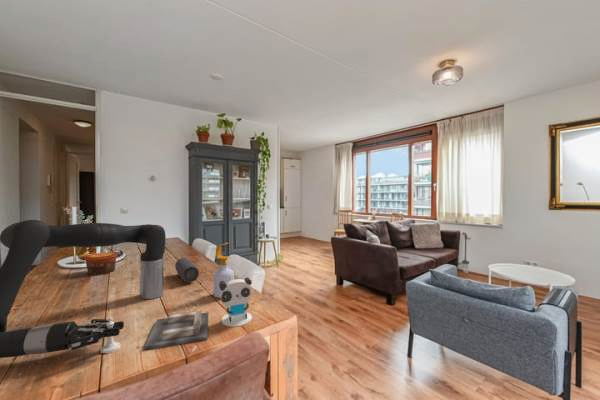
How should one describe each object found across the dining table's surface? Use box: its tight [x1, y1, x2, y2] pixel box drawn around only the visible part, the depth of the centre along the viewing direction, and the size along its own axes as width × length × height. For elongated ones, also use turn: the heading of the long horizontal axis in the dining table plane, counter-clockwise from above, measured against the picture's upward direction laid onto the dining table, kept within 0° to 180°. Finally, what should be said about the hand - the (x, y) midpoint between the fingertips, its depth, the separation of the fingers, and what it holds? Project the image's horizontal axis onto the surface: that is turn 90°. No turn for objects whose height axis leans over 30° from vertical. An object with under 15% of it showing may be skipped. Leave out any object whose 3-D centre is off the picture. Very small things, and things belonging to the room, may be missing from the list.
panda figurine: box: [219, 277, 253, 328], centre depth 98 cm, size 12×11×15 cm
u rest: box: [144, 310, 209, 351], centre depth 90 cm, size 18×18×3 cm
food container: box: [83, 251, 118, 276], centre depth 156 cm, size 16×16×11 cm
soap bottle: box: [213, 242, 235, 299], centre depth 121 cm, size 9×9×25 cm
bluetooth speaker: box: [174, 257, 200, 283], centre depth 144 cm, size 23×9×10 cm, turn 34°
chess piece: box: [99, 316, 121, 354], centre depth 79 cm, size 5×5×10 cm
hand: (121, 328), depth 80 cm, fingers open, 3 cm apart
